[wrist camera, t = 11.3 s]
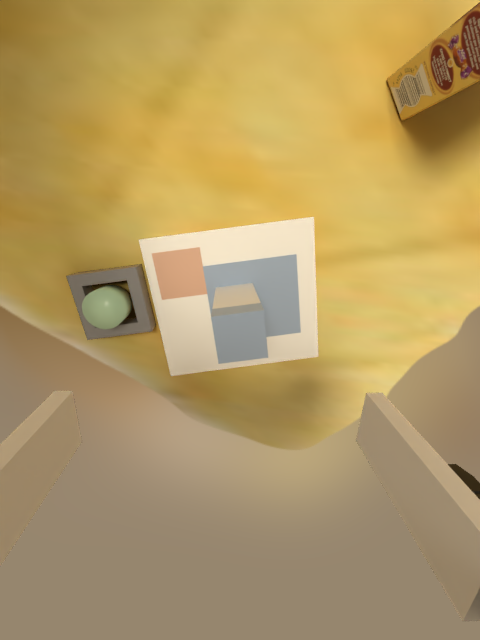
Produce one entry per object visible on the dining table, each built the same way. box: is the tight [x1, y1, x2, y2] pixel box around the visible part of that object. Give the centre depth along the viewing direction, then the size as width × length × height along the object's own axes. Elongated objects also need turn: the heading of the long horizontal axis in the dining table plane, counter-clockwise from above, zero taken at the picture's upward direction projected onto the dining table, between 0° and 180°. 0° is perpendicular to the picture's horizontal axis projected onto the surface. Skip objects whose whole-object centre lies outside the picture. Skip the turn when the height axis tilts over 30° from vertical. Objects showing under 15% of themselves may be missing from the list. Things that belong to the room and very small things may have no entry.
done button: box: [82, 285, 132, 329], centre depth 29 cm, size 4×4×3 cm
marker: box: [211, 283, 268, 364], centre depth 26 cm, size 4×4×10 cm
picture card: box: [139, 217, 318, 376], centre depth 31 cm, size 16×18×1 cm
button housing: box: [66, 264, 156, 340], centre depth 30 cm, size 7×7×2 cm
